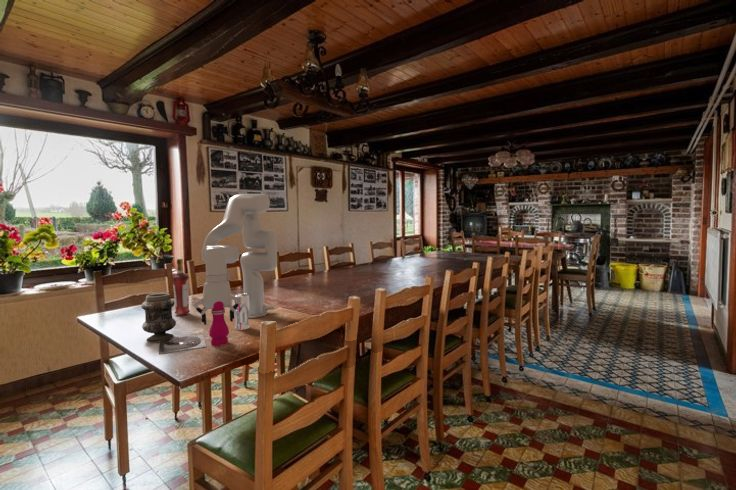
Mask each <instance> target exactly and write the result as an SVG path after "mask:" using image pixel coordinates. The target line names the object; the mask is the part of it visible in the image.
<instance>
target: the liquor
mask: <svg viewBox="0 0 736 490" xmlns="http://www.w3.org/2000/svg"><path fill="white" fill-rule="evenodd" d="M183 262H184V261H183V258H176V266H177V267H176V269H177V270H176V271H177V272H176V274H175V275H174V276H172V278H171V279H172V288H173V297H174V298H173V299H174V307H175V308H174V309H175V311H174V314H175V315H177V316H179V317H180V316H186V315H188V314H189V313H190V312H191V310H190V308H189V306H190V304H189V303H190V302H189V300H190V299H189V294H190V293H189V288H190V287H189V286H190V284H189V283H190V281H189V280H190V279H189V276H188V275H187V274H185V272H184V267H183Z"/></svg>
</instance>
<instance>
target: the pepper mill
mask: <svg viewBox="0 0 736 490" xmlns="http://www.w3.org/2000/svg"><path fill="white" fill-rule="evenodd" d="M213 307H214V309H210V311H211V315H212V324H211V325H210V328H209V333H208V334H209V337H210V338H211V340H210V345H211V346H213V347H222V346H225V345H227V344H228V343H229V338H228V335H229V333H230V329H229V326H228V325H227V323H226V321H225V320H226V319H225V313H226V309H225V308H223V307H224V304H223V302H221V301H217V302H215V303H214V305H213ZM221 345H222V346H221Z"/></svg>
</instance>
